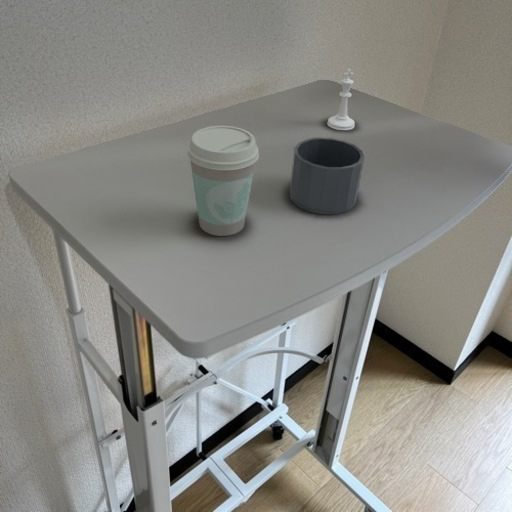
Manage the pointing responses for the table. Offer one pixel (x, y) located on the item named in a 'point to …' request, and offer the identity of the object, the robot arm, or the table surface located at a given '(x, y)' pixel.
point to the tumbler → (325, 175)
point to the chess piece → (343, 107)
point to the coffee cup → (222, 176)
